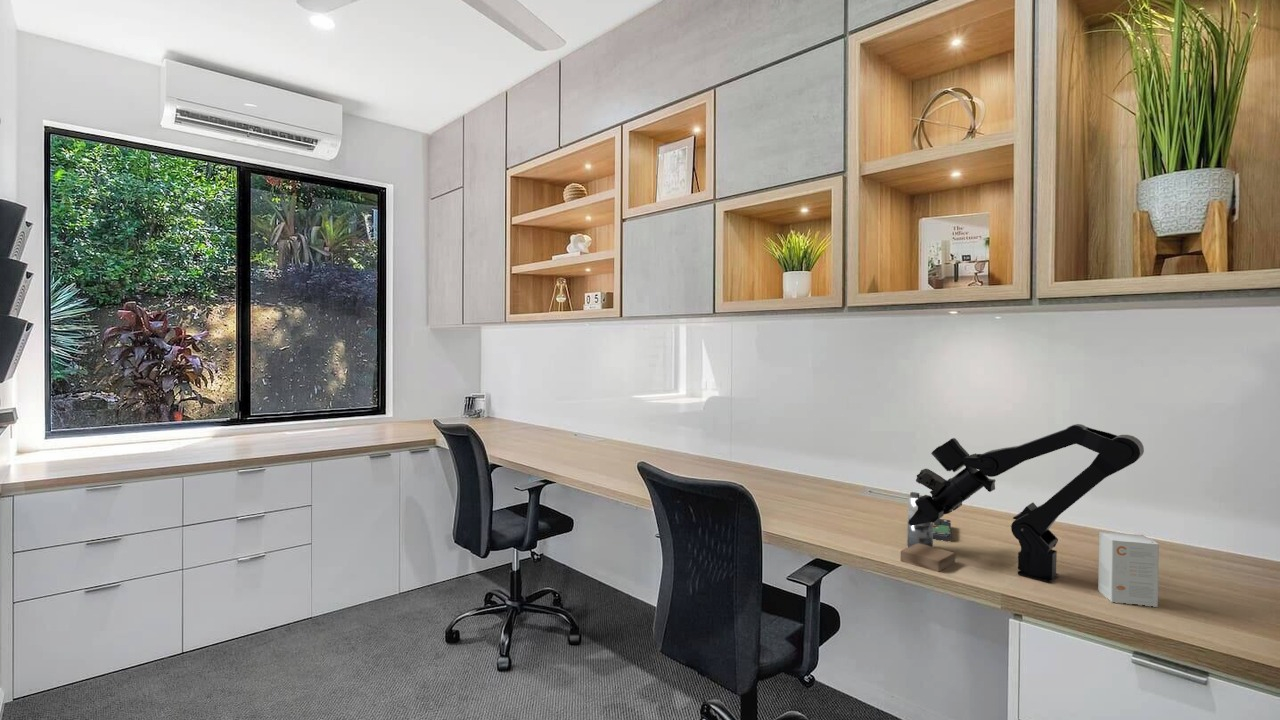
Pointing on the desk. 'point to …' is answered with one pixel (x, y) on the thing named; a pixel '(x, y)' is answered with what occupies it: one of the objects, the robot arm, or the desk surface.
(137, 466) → the desk surface
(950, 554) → the stand
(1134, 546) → the small box
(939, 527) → the disk drive
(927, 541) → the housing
